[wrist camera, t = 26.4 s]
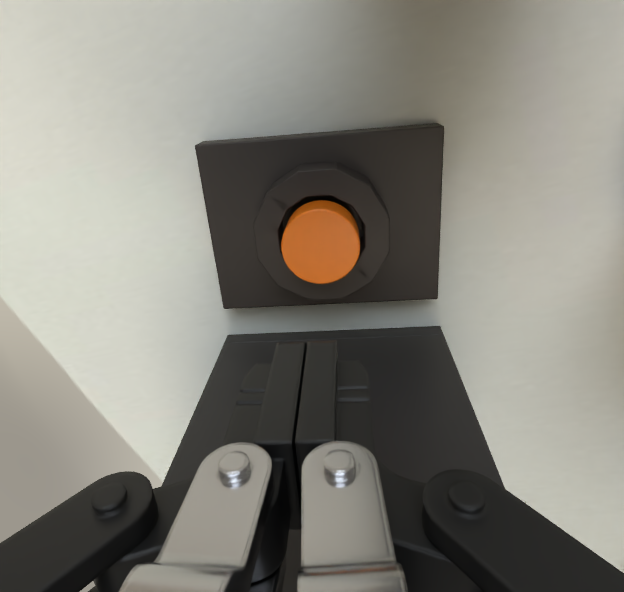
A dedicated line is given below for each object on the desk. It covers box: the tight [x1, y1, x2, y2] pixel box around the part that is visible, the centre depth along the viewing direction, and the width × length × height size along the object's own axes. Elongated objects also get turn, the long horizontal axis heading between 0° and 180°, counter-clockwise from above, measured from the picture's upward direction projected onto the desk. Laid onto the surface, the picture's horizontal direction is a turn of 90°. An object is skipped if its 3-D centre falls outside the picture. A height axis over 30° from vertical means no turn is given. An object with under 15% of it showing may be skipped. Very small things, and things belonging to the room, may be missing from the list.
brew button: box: [281, 200, 360, 284], centre depth 22 cm, size 4×4×2 cm
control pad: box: [195, 123, 444, 309], centre depth 24 cm, size 12×9×4 cm
